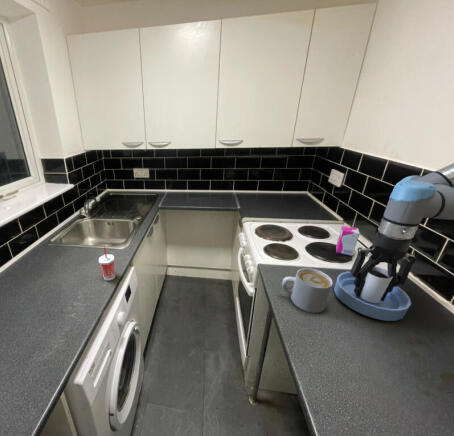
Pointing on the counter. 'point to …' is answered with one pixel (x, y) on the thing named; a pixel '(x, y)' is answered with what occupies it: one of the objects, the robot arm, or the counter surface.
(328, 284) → the coffee mug
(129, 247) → the counter surface
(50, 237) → the counter surface
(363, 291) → the white cup
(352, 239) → the supplement box
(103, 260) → the beverage cup
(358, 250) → the robot arm
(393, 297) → the bowl
